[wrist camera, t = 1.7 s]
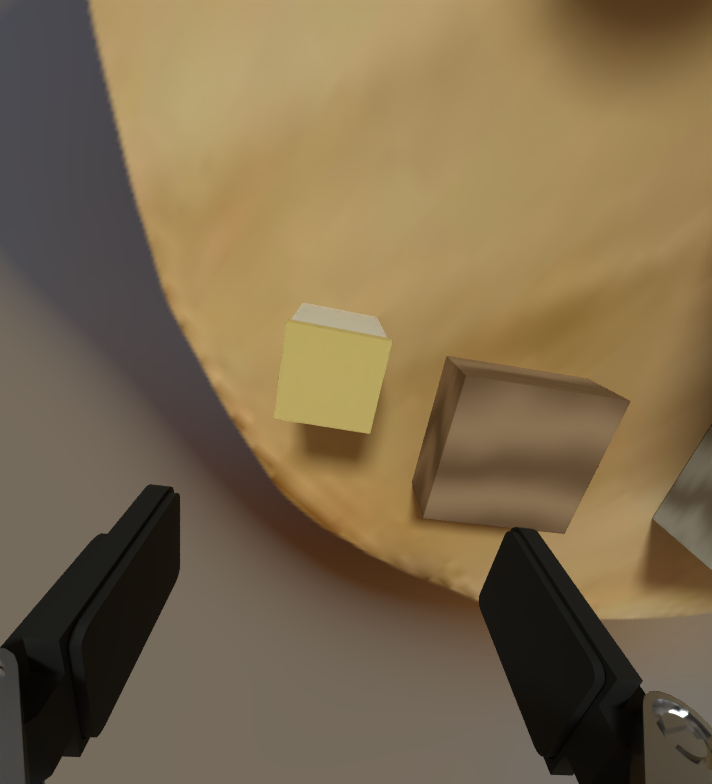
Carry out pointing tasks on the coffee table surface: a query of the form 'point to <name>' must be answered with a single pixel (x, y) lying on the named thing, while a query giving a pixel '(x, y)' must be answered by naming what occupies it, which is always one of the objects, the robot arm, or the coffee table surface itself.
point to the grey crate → (692, 504)
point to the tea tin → (331, 368)
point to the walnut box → (512, 445)
